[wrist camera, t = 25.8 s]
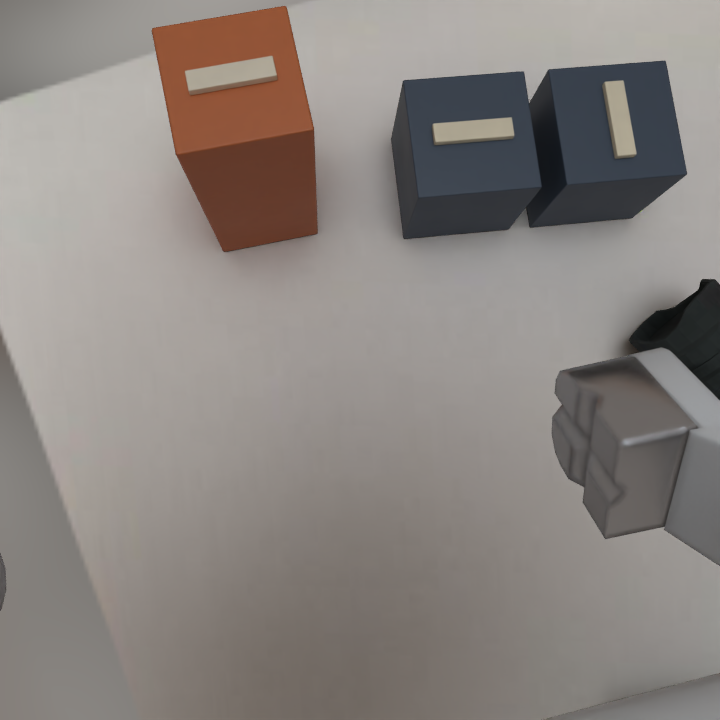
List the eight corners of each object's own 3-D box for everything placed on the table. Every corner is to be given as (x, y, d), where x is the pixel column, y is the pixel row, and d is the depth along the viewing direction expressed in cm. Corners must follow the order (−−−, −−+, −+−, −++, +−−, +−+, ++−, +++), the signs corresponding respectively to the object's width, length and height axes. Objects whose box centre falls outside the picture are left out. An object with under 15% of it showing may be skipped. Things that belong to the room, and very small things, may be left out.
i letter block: (223, 252, 31) (173, 150, 21) (205, 163, 32) (148, 21, 21) (317, 233, 31) (314, 124, 21) (298, 146, 32) (285, -2, 22)
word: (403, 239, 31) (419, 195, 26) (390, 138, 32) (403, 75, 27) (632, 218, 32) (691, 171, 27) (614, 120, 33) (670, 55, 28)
